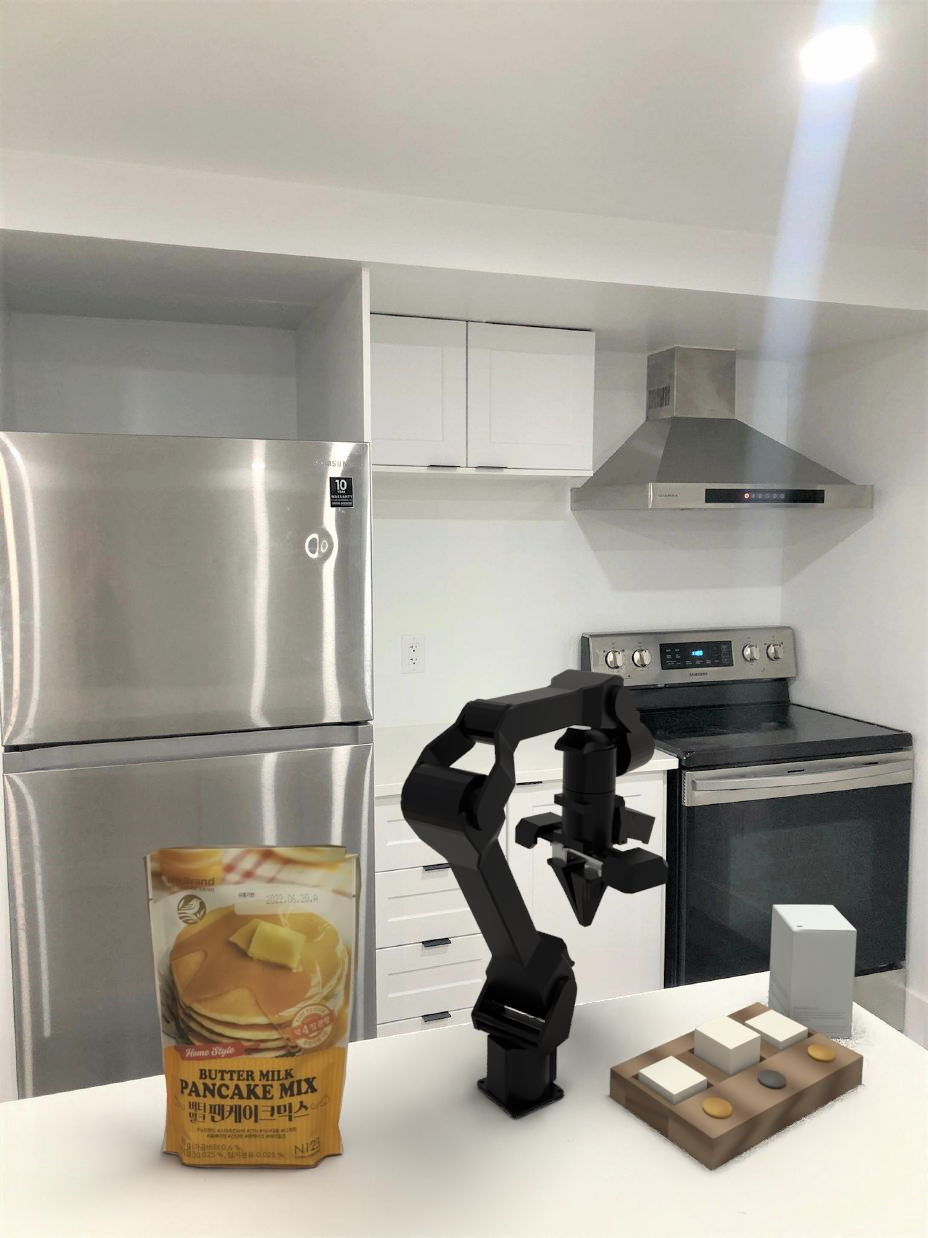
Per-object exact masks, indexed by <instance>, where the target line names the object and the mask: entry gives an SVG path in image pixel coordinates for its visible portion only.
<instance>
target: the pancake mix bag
mask: <svg viewBox="0 0 928 1238" xmlns="http://www.w3.org/2000/svg"><path fill="white" fill-rule="evenodd" d="M142 861H143V866H144V868H143V869H144V875H145V889H146V891H145V892H146V908H147V909H146V910H147V913H148V914H147V915H148V919H149V925H150V946H151V948H150V949H151V963H152V971H153V982H154V983H153V984H154V992H155V993H154V995H155V1001H156V1007H157V1012H158V1017H159V1025H160V1027H159V1029H160V1037H161V1039H160V1041H161V1043H160V1044H161V1056H162V1059H161V1060H162V1068H163V1075H164V1078H165V1087H166V1089H165V1090H166V1107H165V1111H166V1112H165V1126H164V1132H163V1133H164V1135H163V1139H162V1144H161V1149H160V1152H162V1153H167V1154H172V1155H177V1156H178V1158H179V1159H180V1161H181V1164H182V1165H184V1166H191V1167H197V1168H219V1169H220V1168H224V1169H225V1168H226V1169H252V1168H253V1169H259V1168H260V1169H262V1168H266V1169H267V1168H268V1169H269V1168H270V1169H271V1168H272V1169H285V1170H286V1169H307V1168H309V1169H310V1168H317V1166H319V1164H321V1163H322V1162H323V1160H324V1159H326V1158H327V1157H330V1156H335V1155H340V1154H344V1153H345V1151H344V1146H343V1139H342V1136H341V1131H340V1127H339V1123H340V1117H341V1112H342V1103H343V1096H344V1092H345V1091H344V1090H345V1085H346V1078H347V1064H348V1063H347V1062H348V1052H349V1051H348V1050H349V1042H350V1035H351V1029H352V1028H351V1025H352V1017H353V1011H354V1010H353V1009H354V1004H355V1003H354V1002H355V990H356V988H355V986H356V985H355V982H356V979H357V978H356V976H357V972H358V966H359V938H360V937H359V933H360V932H359V931H360V929H359V927H360V901H361V893H362V868H361V862H360V854H358V853H350V852H349V853H348V852H347V846H345V845H338V844H331V843H329V844H328V843H325V844H322V843H321V844H291V845H287V844H286V845H278V844H277V845H272V844H251V843H250V844H249V843H247V844H246V843H245V844H244V843H243V844H236V843H235V844H234V843H233V844H216V845H215V844H212V845H211V844H210V845H181V846H169V847H168V846H166V847H160V848H158V849H156V850H154V851H152V852H150V853H148V854H147V855H145V856H142Z"/></svg>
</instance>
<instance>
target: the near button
mask: <svg viewBox="0 0 928 1238" xmlns="http://www.w3.org/2000/svg"><path fill="white" fill-rule="evenodd" d="M638 1081H639V1082H640V1083H642V1084H643V1085H645V1086H646V1087H648V1088H649V1089H651V1090H652V1091H653V1092H655V1093H656V1094H658V1095H659V1096H661V1097H662V1098H664V1099H665V1100H667V1101H668V1102H670V1103H671V1104H673V1105H674V1106H675V1105H677V1104H679V1103H681V1102H683V1101H685V1100H687V1099H689V1098H691V1097H693V1096H695V1095H697V1094H699V1093H701V1092H703V1091H705V1090H707V1078H706V1077H704V1076H703V1075H701V1074H700V1073H698V1072H696V1071H695V1070H693V1069H692V1068H690V1067H688V1066H687V1065H685V1064H684V1063H682V1062H680V1061H679V1060H677V1059H676V1058H674V1057H672V1056H670V1057H668V1058H665V1059H663V1060H661V1061H659V1062H657V1063H655V1064H652V1065H650V1066H648V1067H646V1068H644V1069H641V1070H639V1078H638Z"/></svg>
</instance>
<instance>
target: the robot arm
mask: <svg viewBox="0 0 928 1238" xmlns="http://www.w3.org/2000/svg"><path fill="white" fill-rule="evenodd" d="M624 681H625V678H624V677H623V676H622V675H620V674H613V673H604V672H598V671H597V672H595V671H590V670H580V669H573V668H568V669H565V670H564V671H561V672H559V673H557V675H554V676H553V677H552V678H551V679H550V684H549V685H546V686H545V687H540V688H535V689H530V690H526V691H519V692H516V693H512V694H507V695H505V694H504V695H502V696H496V697H492V698H488V699H485V698H484V699H483V698H476V699H474V700H470V701H467V702H466V703H465V705H464V706H463V707H462V709H461V710H460V712H459V714H458V716H457V718H456V720H455V721H454V723H452V724H451V725H450V726H448V727H447V728H446V729H445V730H443V732H441V733H439V735H437V736H436V737H435V738H433V739H432V740H431V741H430V742H428V743H427V744H425V746H424V747H423V748H422V751H421V752H420V755H419V756H418V758H417V760H416V761H415V762H414V765H413V766H412V769H411V770H410V772H409V773H408V775H407V777H406V778H405V780H404V782H403V785H402V788H401V794H400V801H399V802H400V810H401V813H402V816H403V819H404V820H405V822H406V823H407V825H408V826H409V827H410V828H411V830H412V831H413V833H414V834H415V835H416V836H417V837H418V839H420V841H422V842H423V843H424V844H426V845H428V847H430V848H431V849H432V850H434V851H435V852H436V853H437V854H439V855H440V856H441V857H443V858H444V859H445V860H446V862H447V863H448V866H449V869H451V872H452V874H453V876H454V879H455V880H456V882H457V885H458V886H459V888H460V889H459V890H460V891H461V893H462V895H463V897H464V900H465V902H466V903H467V906H468V908H469V909H470V913H471V914H472V916H473V918H474V921H475V922H476V924H477V927H478V929H479V931H480V933H481V935H482V937H483V939H484V941H485V944H486V946H487V947H488V950H489V953H490V954H491V957H490V961H489V962H488V964H487V967H486V969H485V972H484V973H485V976H486V977H485V978H486V979H485V981H484V983H483V985H482V988H481V990H480V992H479V993H478V994H479V995H478V997H477V999H476V1001H475V1003H474V1006H473V1008H472V1009H471V1012H470V1017H471V1022H472V1026H473V1029H474V1030H476V1031H481V1032H483V1033H486V1034H487V1035H486V1076H485V1077H482V1078H479V1079H478V1080H477V1081H476V1086H477V1088H478V1089H479V1090H480V1091H481V1092H483V1093H484V1094H485V1096H487V1097H488V1098H490V1099H491V1101H493V1102H494V1103H495V1104H496V1105H498V1107H500V1108H502V1109H503V1110H504V1111H505V1112H506V1114H508V1115H509V1116H511V1117H512V1118H515V1119H517V1118H520V1117H522V1116H525V1115H527V1114H529V1113H531V1112H533V1111H535V1110H538V1109H539V1108H542V1107H544V1106H546V1105H549V1104H552V1103H553V1102H555V1101H558V1100H560V1099H562V1098H564V1097H565V1090H564V1088H562V1087H561V1086H559V1085H558V1084H557V1083H556V1080H557V1073H558V1072H557V1069H558V1067H557V1066H558V1047H559V1046H561V1045H562V1044H563V1043H564V1042H565V1041H567V1040H568V1039H569V1037H570V1033H571V1027H572V1024H573V1023H572V1022H573V1017H574V1013H575V1012H574V1011H575V1006H576V1002H577V995H578V984H577V981H576V975H575V971H574V969H573V967H574V966H575V964H576V962H575V960H573V959H572V958H571V957H570V954H569V951H568V945H567V943H566V942H565V941H564V939H563V938H562V937H559V936H556V935H553V934H550V933H546V932H543V931H541V930H537V929H536V926H535V924H534V922H533V919H532V917H531V915H530V912H529V910H528V907H527V904H526V903H525V901H524V898H523V896H522V895H523V894H522V893H521V891H520V889H519V886H518V883H517V881H516V880H515V877H514V875H513V872H512V870H511V867H510V865H509V862H508V859H507V858H506V855H505V853H504V850H503V849H502V846H501V844H500V842H499V841H500V840H499V836H500V835H501V831H502V829H503V827H504V824H505V821H506V819H507V817H506V813H505V807H506V805H507V803H508V801H509V799H510V797H511V795H512V793H513V791H514V790H515V787H516V767H515V766H516V765H515V755H514V754H515V752H516V750H517V749H518V746H519V744H520V742H522V741H524V740H528V739H531V738H534V737H535V738H537V737H540V736H542V735H547V734H549V733H550V734H551V733H553V732H556V731H560V730H564V729H565V732H564V733H563V735H561V736H559V738H558V739H557V740H556V742H555V743H554V745H553V748H554V750H555V751H559V752H562V790H561V792H559V793H555V794H554V793H553V804H555V805H557V806H559V807H561V814H558V813H555V812H553V811H548V812H543V813H539V814H535V815H530V816H525V817H521V819H520V820H519V821H518V822H517V824H516V825H515V828H514V843H515V844H517V845H519V846H522V847H523V848H526V849H528V850H531V849H535V847H536V846H537V845H538V844H539V843H538V839H541V840H545V841H546V842H547V843H549V846H550V847H551V857H549V858H547V859H546V864H547V865H548V866H549V867H550V868H551V869H552V871H553V873H554V874H555V877H556V878H557V881H558V882H559V884H560V886H561V888H562V890H563V892H564V895H565V896H566V899H567V900H568V903H569V905H570V907H571V909H572V911H573V914H574V915H575V916H574V917H575V918H576V920H577V922H578V924H579V926H581V927H583V928H586V927H587V928H588V927H590V926H591V925H592V923H593V922H594V919H595V917H596V913H597V912H598V910H599V907H600V905H601V902H602V899H603V897H604V895H605V893H606V891H607V889H608V887H610V888H612V889H613V890H616V891H619V892H621V893H623V894H627V895H633V894H636V893H640V892H643V891H646V890H651V889H653V888H657V887H661V886H663V885H666V884H668V880H669V879H668V878H669V876H668V874H669V863H668V862H667V861H666V859H665V858H664V857H663V856H661V855H659V854H657V853H655V852H652V851H649V850H647V849H644V848H642V847H639V846H637V847H633V848H630V849H629V848H628V849H626V850H621V849H618V848H615V847H614V846H615V845H618V846H623V845H626V844H628V839H630V840H635V841H637V842H638V841H639V842H641V844H643V845H644V844H645V845H649V844H650V839H651V836H652V832H653V829H654V825H655V821H656V816H653V815H651V814H648V813H646V812H645V813H644V812H642V811H639V810H637V809H633V808H631V807H628V806H626V800H625V799H624V796H622V795H619V794H616V790H617V788H616V787H617V786H616V784H617V783H616V782H617V778H618V777H621V776H624V775H626V774H628V773H630V772H632V771H635V770H637V769H639V768H641V767H643V766H645V765H647V764H648V763H649V762H650V761H651V760H652V758H653V756H654V754H655V749H656V742H655V740H654V737H653V734H652V733H651V730H649V728H648V727H647V726H646V725H645V724H644V723H643V722H641V720H640V717H641V713H640V711H638V710H637V708H636V705H635V703H634V700H633V697H632V694H631V691H630V689H629V688H628V687H627V686H626V685H625V683H624ZM573 726H577V727H587V728H588V729H587V728H586V729H583V728H576V727H573ZM477 743H478V744H483V745H490V746H494V763H493V765H492V767H491V769H490V771H489V773H488V774H486V773H480V772H476V771H471V770H466V769H461V768H456V767H451V766H452V765H454V764H455V763H456V762H457V761H458V760H460V759H461V758H462V757H464V756H465V755H467V754H468V753H469V752H470V751H471V750H472V749H473V748H474V747H475V746H476V744H477Z"/></svg>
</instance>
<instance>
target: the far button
mask: <svg viewBox="0 0 928 1238" xmlns="http://www.w3.org/2000/svg"><path fill="white" fill-rule="evenodd" d="M745 1027H747V1028H749V1029H751V1030H753V1031H755V1032H756V1033H758V1034H760V1035H761V1040H762V1041H764V1042H765V1043H767V1044H769V1045H771V1046H773V1047H774V1048H776V1049H778V1050H780V1051H784V1050H786V1049H788V1048H790V1047H792V1046H794V1045H796V1044H798V1043H800V1042H802V1041H804V1040H806V1039H807V1038H808V1028H807V1027H805V1026H803V1025H801V1024H799V1023H797V1022H795V1021H793V1020H791V1019H789V1018H787V1017H785V1016H783V1015H781V1014H779V1013H778V1012H776V1011H774V1010H769V1011H767V1012H765V1013H763V1014H761V1015H759V1016H756V1017H754V1018H752V1019H750V1020H748V1021H746V1022H745Z"/></svg>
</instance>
